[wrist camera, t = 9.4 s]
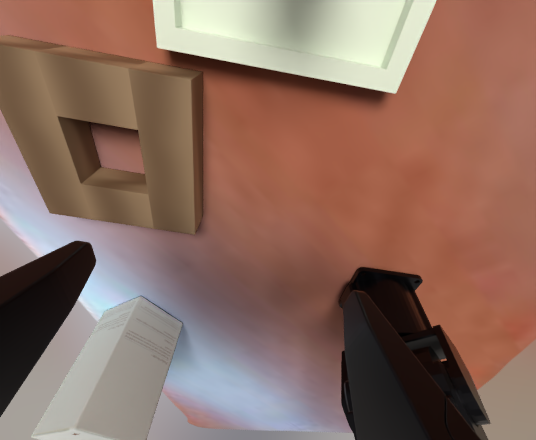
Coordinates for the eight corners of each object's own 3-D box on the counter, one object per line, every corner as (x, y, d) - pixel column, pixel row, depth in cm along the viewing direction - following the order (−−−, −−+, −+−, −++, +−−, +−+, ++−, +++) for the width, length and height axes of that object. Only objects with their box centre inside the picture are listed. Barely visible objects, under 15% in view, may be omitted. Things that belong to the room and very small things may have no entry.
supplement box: (103, 310, 33) (24, 438, 23) (142, 293, 30) (72, 430, 20) (147, 336, 36) (97, 455, 27) (185, 323, 34) (145, 451, 24)
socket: (202, 71, 15) (191, 80, 13) (203, 215, 22) (195, 234, 20) (9, 35, 15) (-34, 38, 13) (71, 195, 21) (49, 213, 19)
